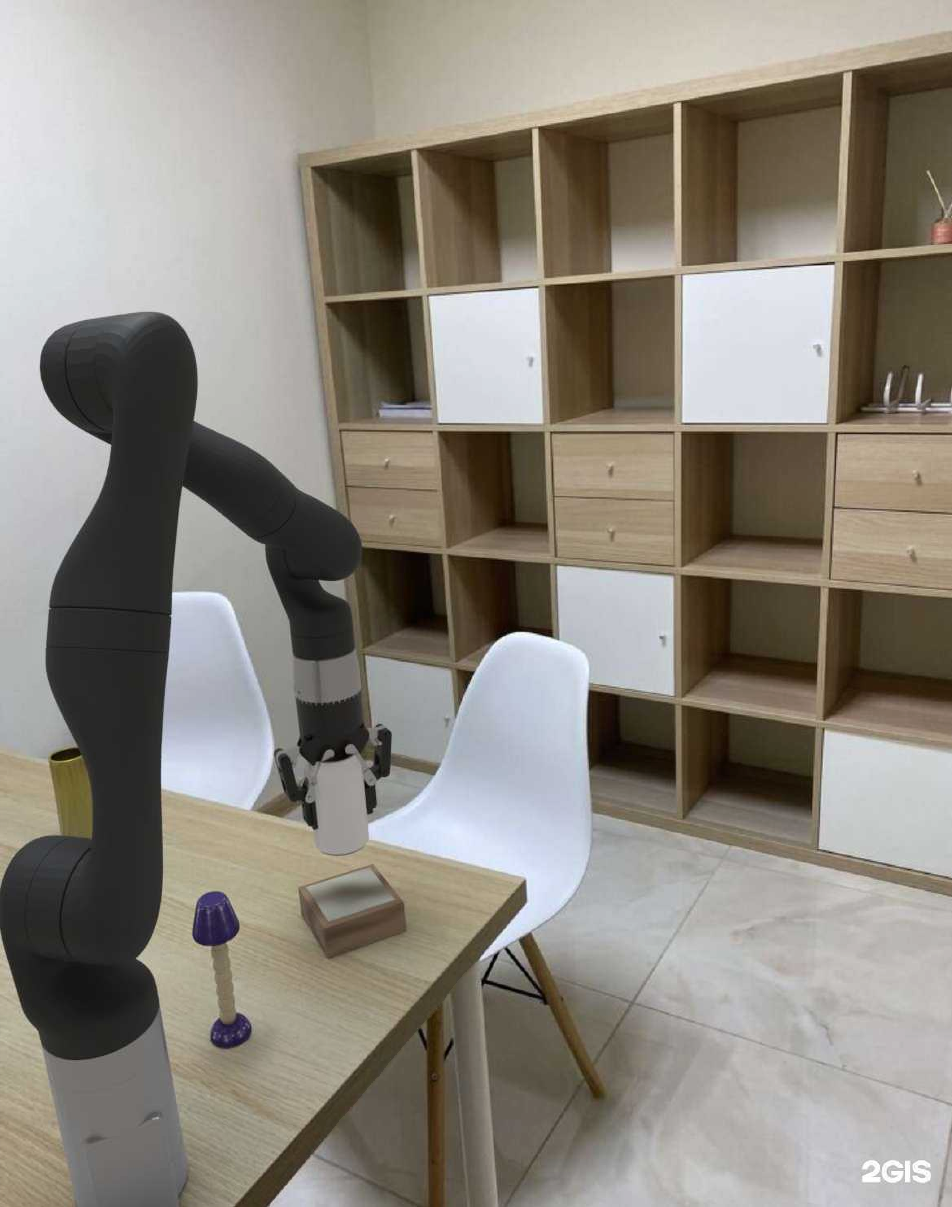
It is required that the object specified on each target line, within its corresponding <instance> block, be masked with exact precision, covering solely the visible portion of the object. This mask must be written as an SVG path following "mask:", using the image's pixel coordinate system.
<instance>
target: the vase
mask: <svg viewBox="0 0 952 1207" xmlns="http://www.w3.org/2000/svg"><path fill="white" fill-rule="evenodd" d="M48 765H49V771H50V775H51V780H52V786H53V787H52V788H53V792H54V797H55V798H54V800H55V804H56V810H57V811H56V813H57V819H58V825H59V831H60V832H59V833H60V835H62V836H73V837H83V838H92V794H91V786H90V781H89V777H88V772H87V769H86V766H85V763H84V760H83V758H82V755H81V753H80V751H79V748H78V746H77V745H76V746H68V747H67V746H66V747H64V748H60V749H57V750H55V751H53V752H51V753H50V754H49V755H48Z"/></svg>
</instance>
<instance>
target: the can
mask: <svg viewBox="0 0 952 1207" xmlns="http://www.w3.org/2000/svg"><path fill="white" fill-rule="evenodd" d="M315 762H316V765H315V766H312V765H311V764H310V763H309V762H308V764H307V763H306V764H307V774H308V776H309V777H312V776H314V774H315V772H316V769H317V766H318V764H319V763H321V766H320V769H319V771H318V774H317V784H315V785H314V788H315V797H316V798H315V800H314V802H315V803H316V812H317V822H318V829H316V830H313V829H312V830H313V837H314V838H313V839H314V844H315V847H316V849H317V850H318V851H320V852H321V853H322V854H324V855H327V856H333V857H340V856H341V857H343V856H348V855H352V854H355V853H357V852H359V851H360V850H362V849H363V848H364V847H365V846H366V844H367V843H369V842H368V841H369V840H370V834H369V823H368V822H369V821H368V815H367V808H366V798H365V787H364V777H363V773H362V764H361V763H360V761H359V760H358V758H357V757H356V755H355V754H353V755H352V756H350V757H349V756H348V755H345V756H341V757H337V758H334V759H332V762H321V761H317V760H315ZM308 784H309V780H308Z"/></svg>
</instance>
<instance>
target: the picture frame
mask: <svg viewBox="0 0 952 1207" xmlns="http://www.w3.org/2000/svg"><path fill="white" fill-rule="evenodd" d="M297 888H298V889H297V890H298V897H299V904H300V905H299V906H300V913H301V917H302V919H303V920H304V922H305V924H306V925H307V926H308V928H309V930H310V932H311V933H312V935H313V937H314V938H315V939H316V942H317V943H318V945H319V947H320V948H321V950H322V952H323V953H324V955H325V956H326V958H327V959H330V958H333V957H336V956H338V955H342V954H345V953H347V952H350V951H352V950H356V949H359V948H362V947H364V946H367V945H370V944H373V943H376V942H378V941H381V940H383V939H387V938H390V937H393V936H396V935H399V934H401V933H404V932H407V926H406V925H407V924H406V916H405V915H406V913H405V911H406V910H405V902H404V900H403V899H402V898H401V897H400V895H399V894H398V893H397V892H396V891H395V890H394V888H393V886H391V884H390V883H389V882H388V881H387V879H386V878H385V877H384V875H382V873H381V872H380V870H379V869H378V868H377V867H376V866H375V864H373V863H372V864H368V865H366V866H362V867H359V868H356V869H353V870H352V869H351V870H349V871H346V872H342V873H339V874H336V875H334V876H330V877H327V878H324V879H320V880H317V881H313V882H311V883H307V884H305V885H301V886H299V887H297Z"/></svg>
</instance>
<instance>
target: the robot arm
mask: <svg viewBox="0 0 952 1207" xmlns="http://www.w3.org/2000/svg"><path fill="white" fill-rule="evenodd" d="M193 346H194V345H193V343H192V342H191V339H190V337H189V335H188V333H187V332H186V330H185V328H184V327H183V326H182V325H181V324H180V323H179V322H178V321H177V320H176V319H174V317H172V316H170V315H168V314H165V313H163V312H158V311H136V312H129V313H124V314H123V313H121V314H114V315H108V316H102V317H95V318H88V319H84V320H79V321H76V322H72V323H69V324H65V325H63V326H62V327H60V328H58V329H56V330H54V331H53V333H51V335H49V337H47V339H46V341H45V343H44V345H42V349H41V353H40V358H39V373H40V374H39V375H40V381H41V384H42V387H43V390H44V393H45V394H46V396H47V398H48V400H49V402H50V403H51V404H52V406H53V408H54V409H55V410H56V411H57V412H58V414H60V415H61V416H62V417H63V418H64V419H66V421H68V422H69V423H71V424H72V425H73V426H75V427H77V428H79V429H80V430H82V431H84V432H85V433H86V434H89V435H91V436H92V437H95V438H97V439H98V440H101V441H102V442H104V443H106V444H108V445H110V451H109V452H110V453H109V460H108V461H109V462H108V465H107V466H108V467H107V469H106V470H107V471H106V475H105V478H104V482H103V485H102V488H101V490H100V493H99V495H98V498H97V499H96V501H95V504H94V505H93V507H92V509H91V511H90V512H89V514H88V516H87V518H86V519H85V521H84V523H83V524H82V526H81V528H80V529H79V531H78V532H77V534H76V536H75V537H74V539H73V541H72V542H71V544H70V545H69V548H68V550H66V553H65V554H64V557H63V559H62V561H61V563H60V564H59V567H58V568H57V571H56V573H55V576H54V579H53V583H52V586H51V591H50V596H49V597H50V598H49V604H48V608H49V609H48V616H47V626H46V627H47V629H46V630H47V631H46V639H45V661H44V662H45V672H46V677H47V681H48V685H49V688H50V690H51V692H52V695H53V698H54V700H55V703H56V705H57V707H58V710H59V712H60V713H61V716H62V718H63V720H64V722H65V725H66V726H67V728H68V730H69V732H70V734H71V736H72V738H73V740H74V742H75V745H76V746H78V748H79V751H80V753H81V755H82V758H83V760H84V763H85V766H86V769H87V772H88V777H89V781H90V786H91V794H92V838H83V837H73V836H62V835H61V834H59V835H58V834H57V835H55V834H51V835H42V836H41V837H37V838H34V839H32V840H30V841H29V842H27V843H26V844H24V845H23V846H22V847H21V848H20V849H19V850H18V851H17V852H16V853H15V854H14V856H13V857H12V858H11V860H10V861H9V863H8V865H7V867H6V869H5V871H4V874H3V877H2V879H1V884H0V937H1V942H2V946H3V949H4V953H5V956H6V959H7V963H8V967H9V970H10V973H11V977H12V980H13V982H14V983H13V984H14V987H15V989H16V993H17V997H18V1000H19V1004H20V1006H21V1009H22V1013H23V1014H24V1017H25V1018H26V1020H27V1021H28V1022H29V1023H30V1024H31V1025H32V1026H33V1027H34V1028H35V1030H37V1032H38V1035H39V1036H38V1037H39V1039H40V1041H39V1042H40V1045H41V1048H42V1049H41V1050H42V1052H43V1053H42V1054H43V1058H44V1064H45V1068H46V1074H47V1077H48V1082H49V1086H50V1091H51V1097H52V1100H53V1101H52V1102H53V1105H54V1108H55V1109H54V1110H55V1114H56V1115H55V1116H56V1119H57V1125H58V1128H59V1133H60V1136H61V1142H62V1143H61V1144H62V1147H63V1152H64V1156H65V1159H66V1160H65V1161H66V1164H67V1168H68V1173H69V1179H70V1182H71V1186H72V1191H73V1196H74V1201H75V1205H76V1207H180V1203H179V1197H180V1194H181V1193H182V1191H183V1189H184V1187H185V1185H186V1182H187V1179H188V1174H189V1173H188V1172H189V1171H188V1170H189V1165H188V1160H187V1154H186V1147H185V1140H184V1137H183V1130H182V1125H181V1121H180V1115H179V1108H178V1102H177V1096H176V1092H175V1085H174V1080H173V1075H172V1069H171V1063H170V1057H169V1056H170V1055H169V1051H168V1044H167V1040H166V1034H165V1026H164V1021H163V1017H162V1016H163V1015H162V1010H161V1004H160V998H159V991H158V986H157V983H156V979H155V977H154V975H153V973H152V971H151V969H150V968H149V967H148V966H147V965H146V964H145V963H144V962H142V961H141V960H139V959H137V958H138V957H139V956H140V955H141V954H142V953H143V952H144V950H145V949H146V948H147V946H148V945H149V943H150V940H151V939H152V937H153V934H154V931H155V929H156V925H157V923H158V920H159V914H160V911H161V906H162V905H161V904H162V897H163V885H164V884H163V883H164V844H163V843H164V841H163V840H164V837H163V806H162V805H163V804H162V751H163V750H162V749H163V748H162V746H163V734H164V733H163V731H164V730H163V729H164V712H165V699H166V698H165V697H166V687H167V686H166V684H167V676H168V667H169V658H170V644H171V632H172V618H173V617H172V613H173V587H174V584H173V582H174V568H175V556H176V546H177V545H176V544H177V536H178V527H179V526H178V524H179V517H180V506H181V498H182V491H183V488H184V489H185V490H188V491H189V492H191V493H192V494H193V495H195V496H197V497H198V498H199V499H201V500H202V501H204V502H205V503H206V504H208V505H209V506H210V507H212V508H213V509H214V510H216V511H217V512H218V513H219V514H221V515H222V516H223V517H224V518H226V519H227V520H228V521H229V522H230V523H232V524H233V525H234V526H235V527H236V528H238V530H241V531H242V533H244V534H245V535H246V536H248V537H249V538H250V539H252V540H254V541H255V542H257V543H260V544H262V545H264V549H265V550H264V551H265V560H266V565H267V567H268V568H267V569H268V571H269V574H270V577H271V579H272V581H273V582H272V583H273V585H274V586H275V589H276V592H277V594H278V597H279V600H280V602H281V604H282V607H283V610H284V611H285V613H286V616H287V619H288V621H289V632H290V641H291V642H290V643H291V649H292V650H291V651H292V678H293V680H292V681H293V683H292V688H293V691H294V695H295V697H294V698H295V706H296V707H295V708H296V713H297V723H298V731H299V737H298V741H297V743H296V745H295V746H292V747H289V748H287V749H283V748H280V747H279V748H275V750H274V751H273V756H274V760H275V761H274V762H275V764H276V767H277V771H278V775H279V780H280V782H281V786H282V789H283V790H282V791H283V793H284V794H285V795H286V796H287V798H288V799H289V800H290V802H292V803H296V802H298V801H299V802H300V803H301V810H302V818H303V820H304V822H305V823H306V824H307V826H308V827H311V828H312V830H316V829H318V822H317V812H316V803H315V802H314V800H315V798H316V797H315V788H314V785H315V784H317V774H318V771H319V769H320V766H321V763H319V764H318V766H317V769H316V772H315V774H314V776H312V777H309V776H308V774H307V764H308V762H309V763H310V764H311V765H312V766H315V765H316V762H315V760H317V761H321V762H332V759H334V758H337V757H341V756H345V755H348V756H349V757H350V756H352V755H353V754H355V755H356V757H357V758H358V760H359V761H360V763H361V764H362V773H363V777H364V787H365V798H366V808H367V816H368V815H369V816H370V815H372V814H374V809H376V808H377V804H378V802H377V800H378V799H377V788H376V784H377V782H378V781H379V780H380V779H382V778H387V777H389V776H390V774H391V761H392V760H391V758H392V757H391V756H392V739H393V735H392V734H393V733H392V731H391V730H390V729H389V728H388V727H386V726H385V725H384V724H382V723H377V724H376V725H375V727H368V728H367V727H366V725H365V715H364V714H365V712H364V703H363V692H362V682H361V673H360V671H361V670H360V664H359V659H358V657H357V651H356V641H355V632H354V620H353V613H352V609H351V606H350V604H349V602H348V601H346V600H345V599H343V598H341V597H339V596H336V595H334V594H332V593H330V592H328V591H327V590H325V589H324V588H323V586H322V584H321V582H320V581H324V582H338V581H342V580H344V579H347V578H348V577H350V576H351V575H353V574H354V573H355V572H356V570H358V568H359V565H360V564H361V561H362V558H363V544H362V539H361V536H360V534H359V532H358V529H357V528H356V526H355V525H354V524H353V522H352V521H351V520H350V519H349V518H348V516H345V515H344V514H343V513H342V512H340V511H338V509H335V508H333V507H331V506H330V505H329V504H326V503H325V502H324V501H321V500H320V499H318V498H317V497H314V496H312V495H310V494H308V493H306V492H304V491H302V490H300V489H299V488H298V487H296V486H295V485H294V483H293V482H291V480H290V479H289V478H288V477H287V476H286V475H284V474H283V472H281V471H280V470H279V469H278V467H276V466H275V465H274V464H273V463H272V462H271V461H270V460H268V459H267V458H266V457H264V455H262V454H260V453H259V452H257V451H256V450H254V449H252V448H251V447H249V446H247V445H245V444H243V443H242V442H240V441H237V440H236V439H233V438H232V437H229V436H227V435H225V434H223V433H220V432H218V431H215V430H214V429H212V428H209V427H207V426H205V425H203V424H201V423H199V422H197V421H195V415H196V408H197V402H198V401H197V400H198V388H199V381H198V380H199V377H198V365H197V358H196V353H195V350H194V347H193ZM369 740H370V742H371V744H373V760H372V761H373V762H372V764H373V765H371V766H370V767H369V765H368V764H367V762H366V761H365V760H364V757H363V756H362V755H361V754H362V752H363V750H364V748H365V747H366V746H367V743H368V741H369ZM300 757H302V758H304V760H306V761H307V762H306V765H305V767H304V769H303V777H302V781H301V782H300V786H299V785H298V784H297V780H296V776H295V772H294V769H296V766H297V764H298V758H300ZM308 780H309V784H308Z"/></svg>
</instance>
